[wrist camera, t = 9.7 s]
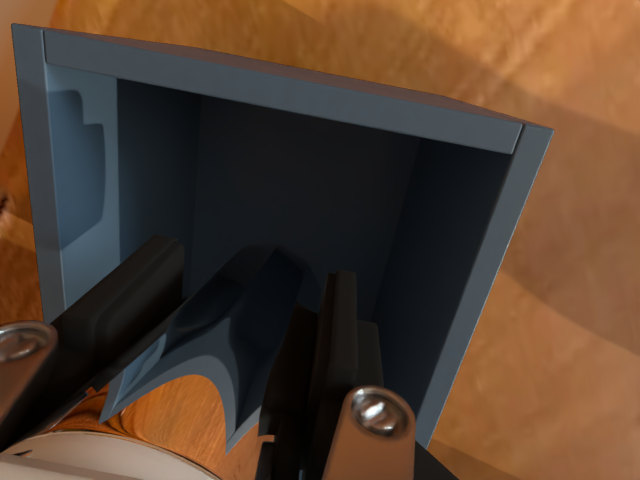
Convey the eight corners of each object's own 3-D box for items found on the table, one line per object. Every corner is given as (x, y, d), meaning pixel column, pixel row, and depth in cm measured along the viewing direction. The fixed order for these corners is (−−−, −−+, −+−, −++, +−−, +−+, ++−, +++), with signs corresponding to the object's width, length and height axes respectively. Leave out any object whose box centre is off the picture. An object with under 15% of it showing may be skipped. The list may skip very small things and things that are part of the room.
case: (194, 47, 22) (9, 22, 10) (444, 96, 22) (556, 129, 10) (181, 295, 28) (58, 462, 16) (377, 333, 28) (396, 526, 16)
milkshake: (296, 172, 11) (-59, 576, 2) (362, 328, 13) (318, 942, 4) (163, 223, 13) (-434, 627, 3) (239, 360, 14) (-24, 888, 5)
